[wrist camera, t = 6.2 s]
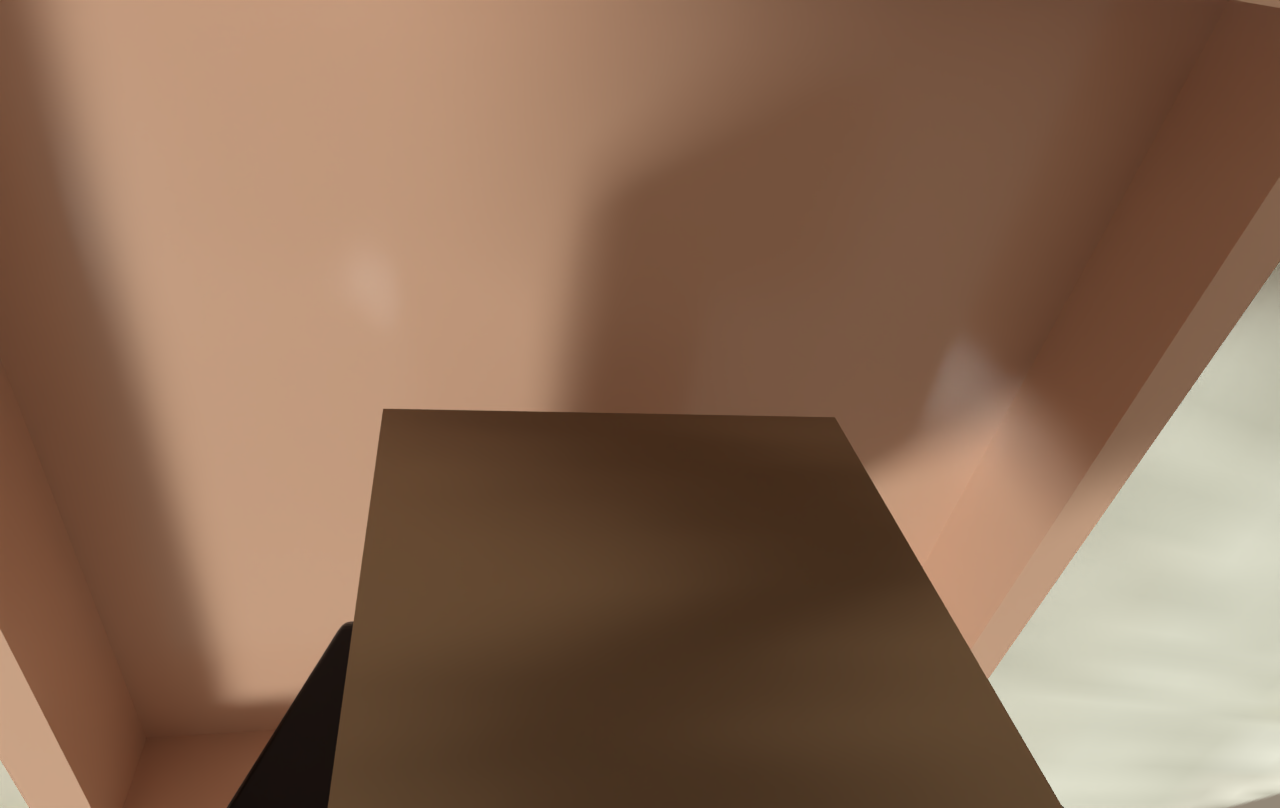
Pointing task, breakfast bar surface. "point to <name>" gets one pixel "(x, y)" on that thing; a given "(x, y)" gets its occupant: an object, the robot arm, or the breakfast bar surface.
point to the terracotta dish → (569, 295)
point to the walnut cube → (654, 626)
